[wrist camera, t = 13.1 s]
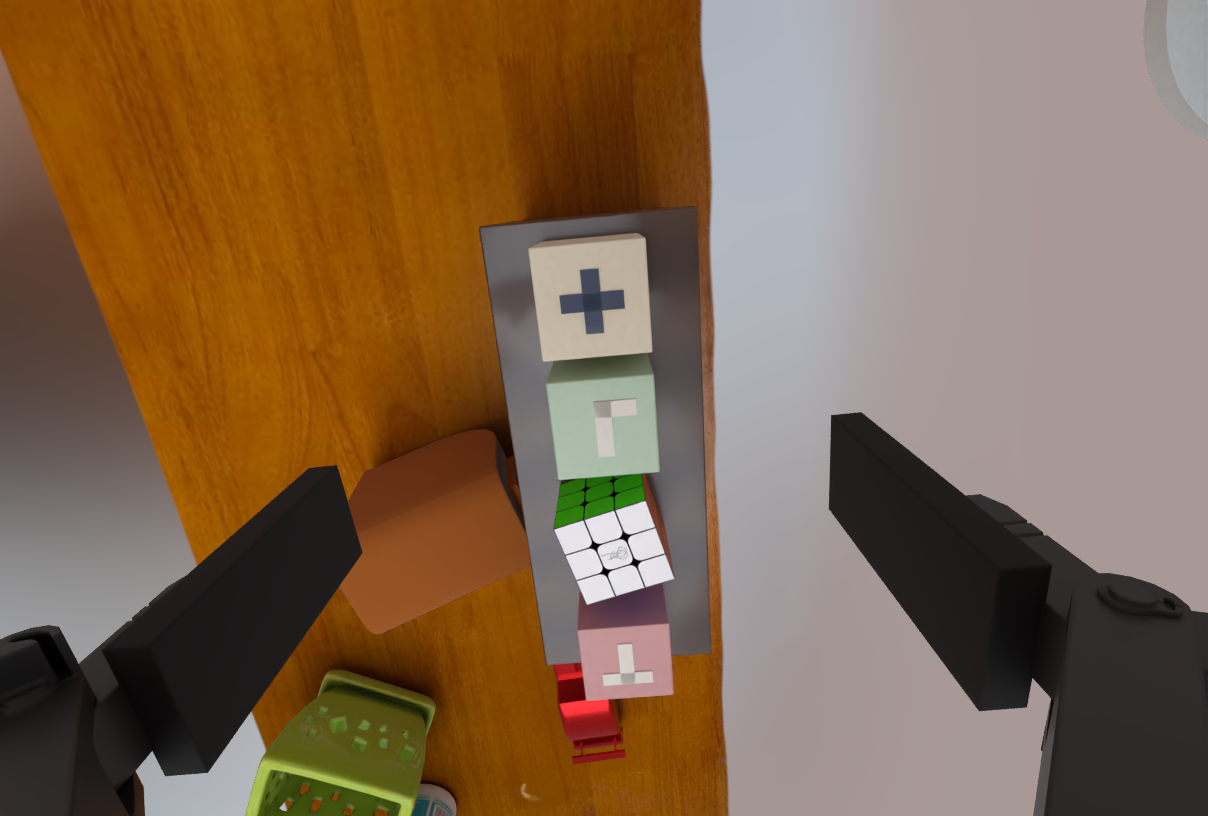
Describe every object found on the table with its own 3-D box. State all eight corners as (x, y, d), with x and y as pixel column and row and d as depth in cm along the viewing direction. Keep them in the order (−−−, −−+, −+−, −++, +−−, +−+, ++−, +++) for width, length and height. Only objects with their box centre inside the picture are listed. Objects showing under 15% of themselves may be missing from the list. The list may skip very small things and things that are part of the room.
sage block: (554, 356, 31) (545, 383, 26) (645, 348, 31) (654, 374, 26) (564, 441, 32) (557, 481, 28) (651, 434, 32) (660, 473, 27)
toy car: (624, 724, 63) (626, 765, 59) (575, 731, 63) (573, 772, 59) (602, 623, 59) (602, 659, 54) (550, 631, 59) (545, 667, 54)
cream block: (539, 241, 29) (527, 248, 24) (638, 232, 29) (645, 237, 24) (551, 338, 30) (542, 362, 26) (644, 330, 30) (652, 353, 25)
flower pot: (327, 646, 59) (258, 757, 47) (455, 684, 61) (419, 800, 49) (300, 739, 64) (230, 862, 52) (420, 772, 65) (379, 898, 53)
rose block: (580, 574, 35) (577, 631, 30) (660, 568, 35) (669, 624, 30) (588, 638, 37) (586, 702, 32) (664, 632, 37) (674, 696, 32)
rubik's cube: (559, 483, 33) (552, 528, 29) (640, 458, 33) (647, 499, 28) (587, 552, 35) (585, 605, 30) (665, 529, 34) (675, 580, 30)
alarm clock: (378, 650, 40) (556, 568, 41) (315, 553, 37) (506, 468, 38) (407, 547, 54) (539, 488, 55) (363, 471, 51) (502, 411, 52)
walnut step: (524, 220, 45) (478, 226, 28) (661, 207, 45) (697, 205, 28) (563, 524, 55) (546, 666, 38) (677, 514, 54) (711, 654, 37)
